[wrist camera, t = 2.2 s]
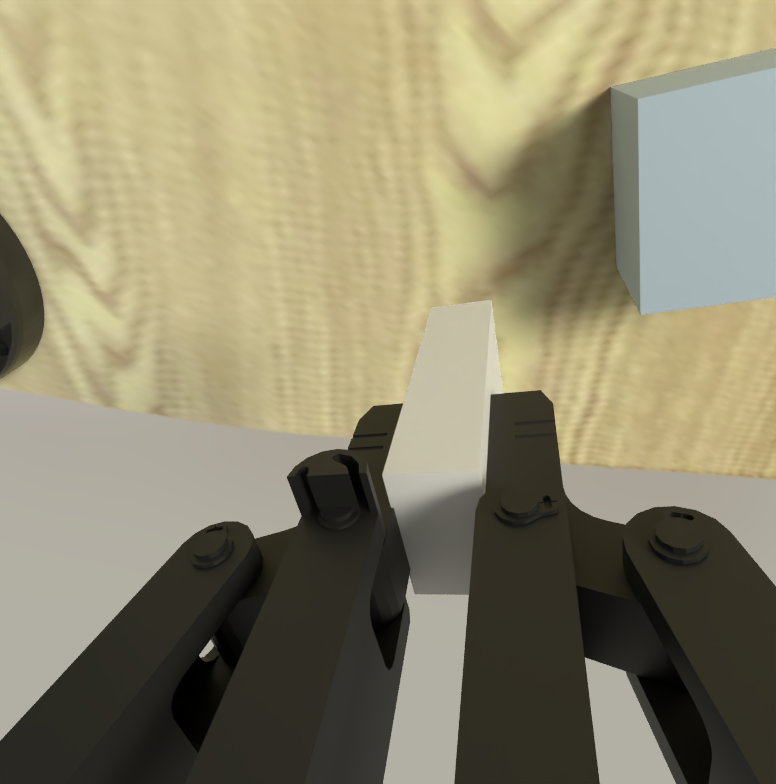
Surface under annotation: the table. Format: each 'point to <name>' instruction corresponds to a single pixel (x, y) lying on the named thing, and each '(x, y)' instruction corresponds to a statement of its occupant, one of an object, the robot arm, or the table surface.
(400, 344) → the table surface
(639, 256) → the block
